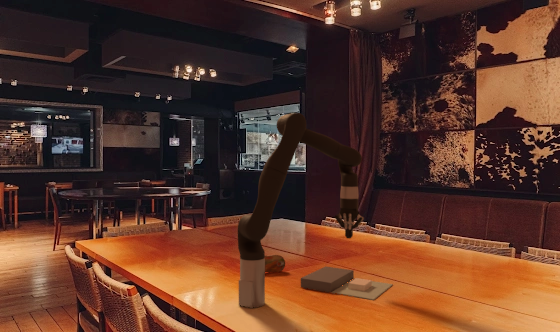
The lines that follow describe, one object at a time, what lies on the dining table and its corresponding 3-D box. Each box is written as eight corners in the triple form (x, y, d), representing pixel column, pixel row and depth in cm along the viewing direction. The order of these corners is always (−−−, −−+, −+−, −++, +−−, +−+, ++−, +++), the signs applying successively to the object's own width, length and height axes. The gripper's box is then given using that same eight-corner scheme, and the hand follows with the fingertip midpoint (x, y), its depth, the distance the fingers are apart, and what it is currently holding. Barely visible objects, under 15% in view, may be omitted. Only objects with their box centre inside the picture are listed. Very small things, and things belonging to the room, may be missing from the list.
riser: (330, 292, 174) (330, 282, 174) (300, 287, 181) (300, 278, 181) (353, 279, 194) (353, 270, 194) (325, 274, 202) (325, 266, 201)
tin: (254, 274, 203) (254, 256, 203) (253, 272, 206) (253, 255, 206) (285, 272, 207) (285, 254, 207) (283, 270, 210) (283, 253, 210)
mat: (373, 300, 164) (373, 299, 164) (331, 292, 174) (331, 291, 174) (392, 285, 185) (392, 284, 185) (354, 279, 194) (354, 278, 194)
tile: (348, 282, 178) (348, 288, 178) (364, 285, 174) (364, 291, 174) (356, 278, 186) (356, 283, 186) (371, 280, 182) (371, 285, 182)
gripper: (331, 197, 182) (330, 237, 182) (360, 198, 174) (360, 241, 174) (338, 196, 188) (338, 235, 188) (367, 197, 181) (367, 238, 181)
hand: (348, 238), depth 181 cm, fingers closed
